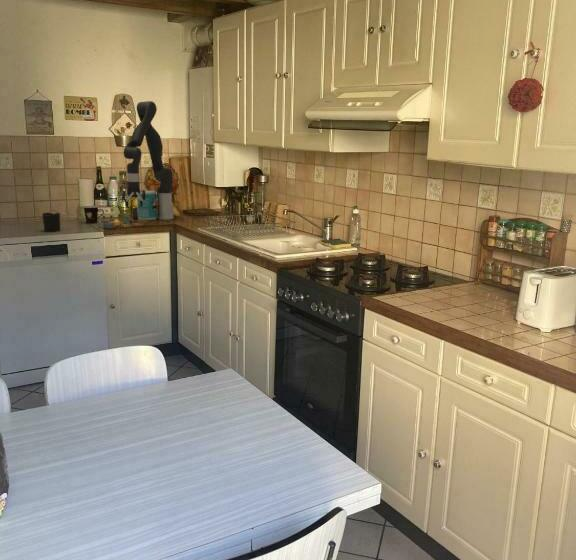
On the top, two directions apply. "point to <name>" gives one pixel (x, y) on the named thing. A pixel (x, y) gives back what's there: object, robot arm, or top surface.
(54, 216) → the pen holder
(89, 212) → the coffee mug
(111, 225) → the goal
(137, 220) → the striker
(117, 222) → the ball
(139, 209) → the food can
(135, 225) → the rail
